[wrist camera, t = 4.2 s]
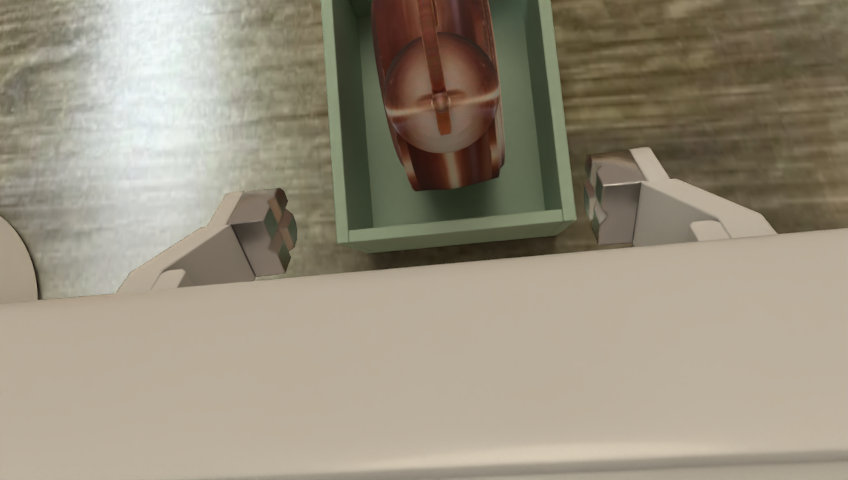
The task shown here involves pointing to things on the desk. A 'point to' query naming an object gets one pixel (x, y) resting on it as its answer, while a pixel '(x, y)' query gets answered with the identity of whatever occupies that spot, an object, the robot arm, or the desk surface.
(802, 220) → the desk surface
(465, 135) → the alarm clock
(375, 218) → the storage box
